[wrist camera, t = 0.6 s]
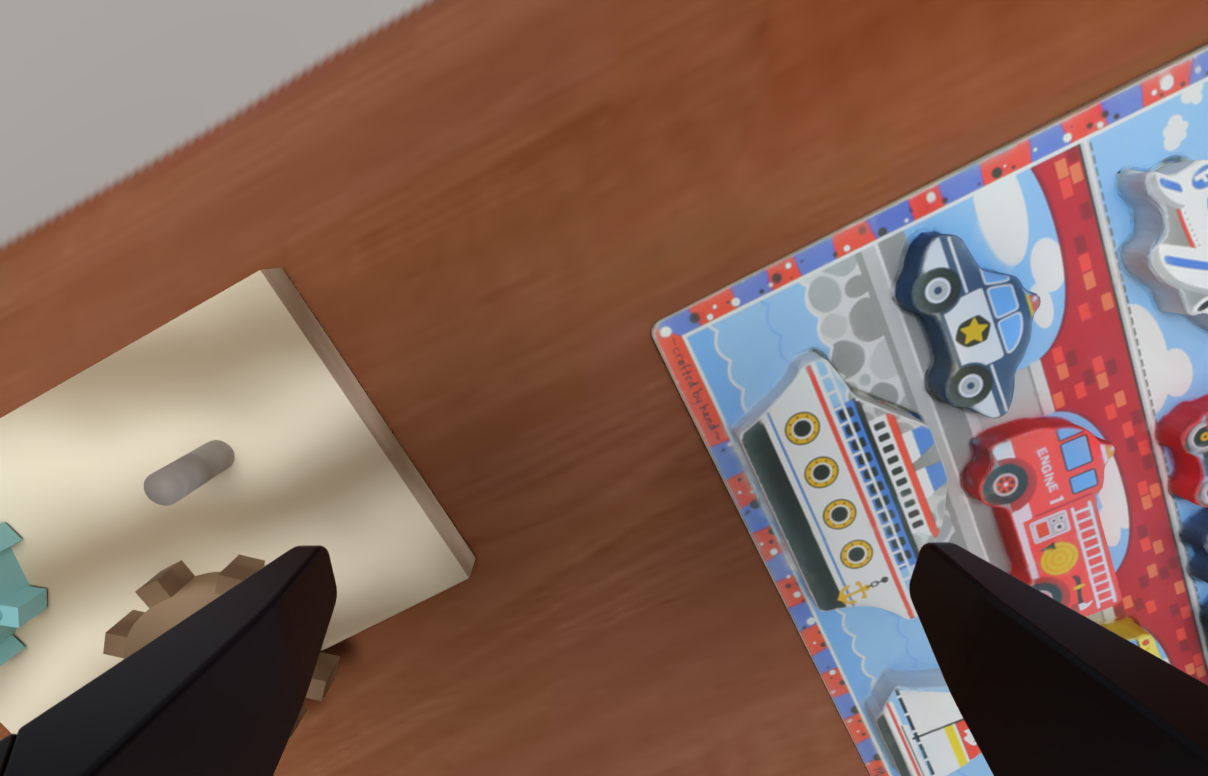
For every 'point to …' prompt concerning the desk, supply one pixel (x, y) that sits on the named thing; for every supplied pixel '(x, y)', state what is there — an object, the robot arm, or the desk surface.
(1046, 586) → the puzzle board
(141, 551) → the gear board
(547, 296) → the desk surface
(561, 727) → the desk surface
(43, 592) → the teal gear
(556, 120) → the desk surface
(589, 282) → the desk surface
